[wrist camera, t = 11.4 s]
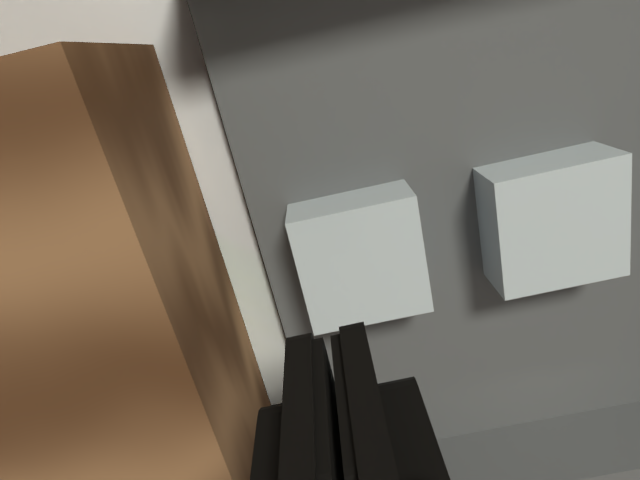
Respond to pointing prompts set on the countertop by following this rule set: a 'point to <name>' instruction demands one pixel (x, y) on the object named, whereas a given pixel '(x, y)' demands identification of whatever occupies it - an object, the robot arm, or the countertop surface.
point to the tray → (450, 199)
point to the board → (112, 281)
